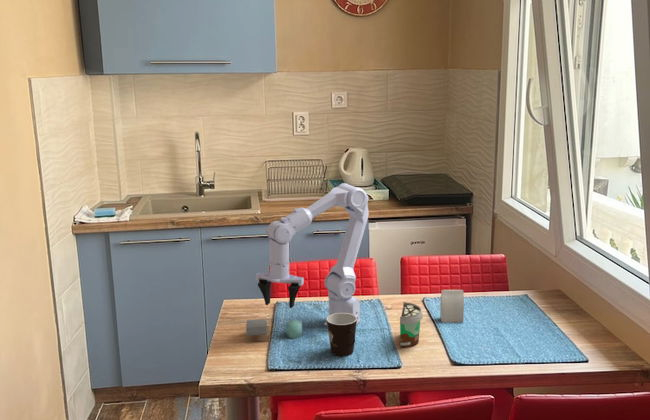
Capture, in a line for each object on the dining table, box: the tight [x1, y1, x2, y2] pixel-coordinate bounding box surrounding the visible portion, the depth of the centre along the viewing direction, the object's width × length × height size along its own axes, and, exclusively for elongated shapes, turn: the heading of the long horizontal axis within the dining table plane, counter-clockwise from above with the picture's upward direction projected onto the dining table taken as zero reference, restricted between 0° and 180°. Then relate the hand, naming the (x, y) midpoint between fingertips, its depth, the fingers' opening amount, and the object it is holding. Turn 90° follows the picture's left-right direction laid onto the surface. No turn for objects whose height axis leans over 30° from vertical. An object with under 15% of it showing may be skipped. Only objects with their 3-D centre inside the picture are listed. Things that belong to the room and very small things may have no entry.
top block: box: [245, 318, 268, 337], centre depth 195 cm, size 6×6×2 cm
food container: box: [399, 301, 424, 349], centre depth 189 cm, size 12×6×10 cm, turn 168°
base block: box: [245, 325, 271, 344], centre depth 195 cm, size 7×7×2 cm
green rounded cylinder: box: [286, 319, 303, 339], centre depth 196 cm, size 5×5×4 cm
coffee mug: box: [326, 313, 358, 357], centre depth 182 cm, size 12×9×10 cm
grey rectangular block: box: [439, 289, 465, 323], centre depth 204 cm, size 4×7×10 cm, turn 87°
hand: (279, 305), depth 193 cm, fingers open, 7 cm apart
